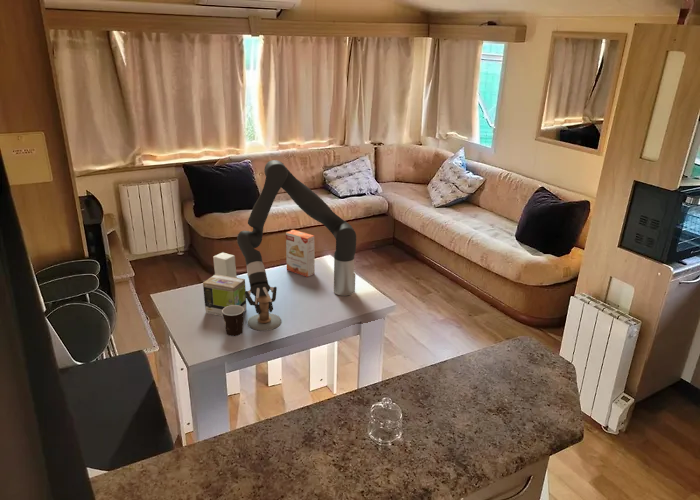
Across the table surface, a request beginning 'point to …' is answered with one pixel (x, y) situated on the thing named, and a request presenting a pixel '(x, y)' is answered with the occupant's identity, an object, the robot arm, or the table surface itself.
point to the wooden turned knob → (264, 309)
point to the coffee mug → (233, 319)
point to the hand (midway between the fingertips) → (265, 312)
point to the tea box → (223, 293)
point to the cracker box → (300, 253)
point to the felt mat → (270, 325)
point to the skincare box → (225, 265)
